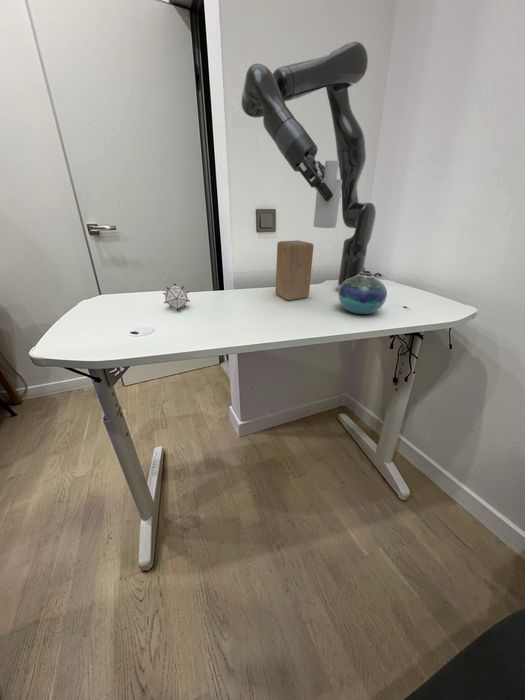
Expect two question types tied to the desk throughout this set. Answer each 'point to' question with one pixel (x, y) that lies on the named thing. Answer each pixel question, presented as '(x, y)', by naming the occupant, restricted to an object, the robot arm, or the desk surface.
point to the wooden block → (293, 269)
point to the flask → (329, 209)
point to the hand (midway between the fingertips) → (334, 198)
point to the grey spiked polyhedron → (176, 297)
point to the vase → (362, 293)
